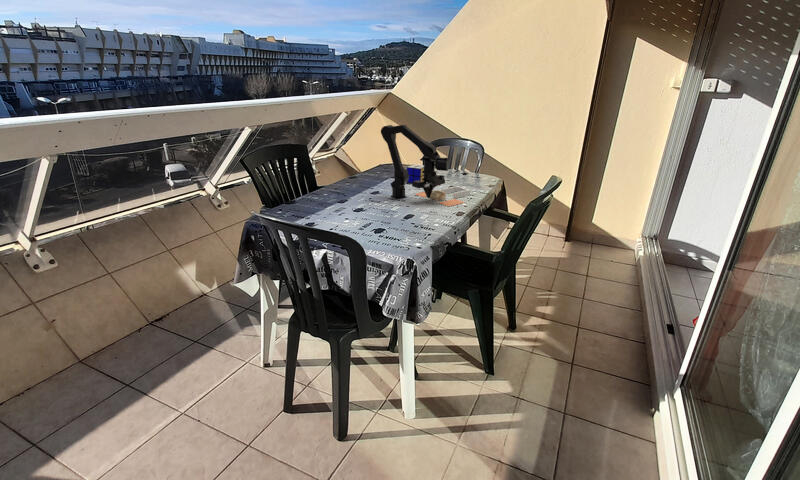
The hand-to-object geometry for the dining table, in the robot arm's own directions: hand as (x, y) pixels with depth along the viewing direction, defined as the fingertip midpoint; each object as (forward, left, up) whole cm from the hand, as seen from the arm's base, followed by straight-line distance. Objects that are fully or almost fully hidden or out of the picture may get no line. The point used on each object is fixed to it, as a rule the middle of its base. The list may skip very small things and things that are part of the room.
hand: (428, 197), depth 214 cm
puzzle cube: (+21, +37, -2) cm, 42 cm away
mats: (+8, 0, -2) cm, 8 cm away
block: (+7, 0, -2) cm, 7 cm away
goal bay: (+21, 0, -2) cm, 21 cm away
